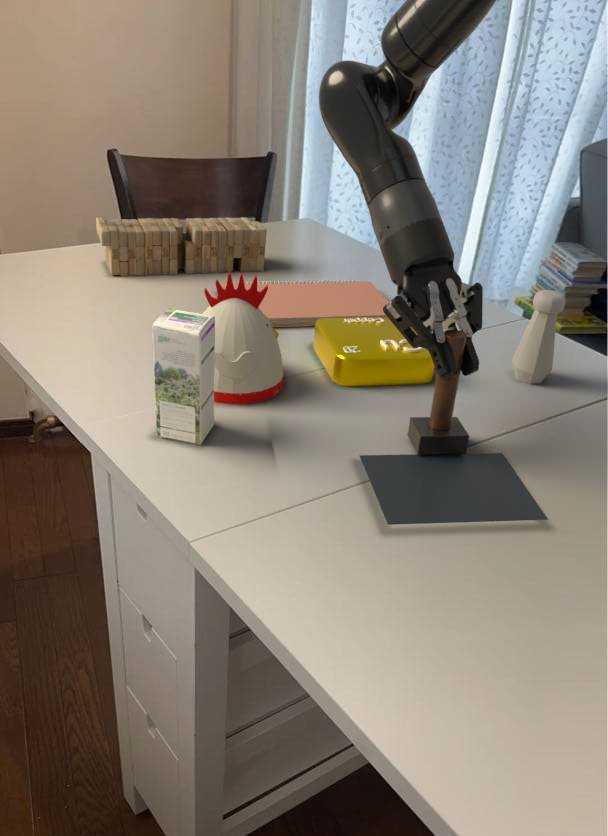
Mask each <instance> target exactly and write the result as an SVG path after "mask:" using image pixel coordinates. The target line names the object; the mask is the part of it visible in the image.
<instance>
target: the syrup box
mask: <svg viewBox="0 0 608 836" xmlns="http://www.w3.org/2000/svg"><path fill="white" fill-rule="evenodd" d="M151 327H152V328H151V334H152V335H151V336H152V356H153V377H154V378H153V380H154V381H153V382H154V406H155V407H154V408H155V431H156V433H155V434H156V438H158V439H162V440H168V441H173V442H174V441H175V442H179V443H185V444H190V445H195V446H201V445H202V444H203V442H204V440H205V438H206V437H207V436H208V434H209V433H210V431H212V428H213V427H214V426H215V402H214V363H215V317H214V316H211V315H205V314H203V313H198V312H192V311H187V310H180V309H173V308H168V309H167V310H166V311H164V312H163V313H162V314H161V315H160V316H159V317H158V318H157V319H156V320H155V321H154V323H153V324H152V325H151Z"/></svg>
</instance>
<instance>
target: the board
mask: <svg viewBox="0 0 608 836" xmlns="http://www.w3.org/2000/svg"><path fill="white" fill-rule="evenodd" d="M359 459H360V461H361V463H362V466H363V468H364V471H365V473H366V476H367V478H368V481H369V483H370V485H371V489H372V490H373V493H374V495H375V497H376V500H377V502H378V505H379V507H380V509H381V512H382V514H383V517H384V519H385V521H386V524H387V525H420V524H450V523H451V524H454V523H455V524H457V523H481V522H483V523H485V522H513V521H514V522H515V521H543V520H548V516H546V514H545V513H544V512H543V510H542V508H541V507H540V506H539V504H538V503H537V501H536V499H535V498H534V496H533V495H532V494H531V492H530V491H529V489H528V488H527V487H526V485H525V484H524V482H523V481H522V479H521V478H520V477H519V475H518V473H517V472H516V471H515V469H514V467H513V466H512V465H511V463H510V462H509V460H508V459H507V458H506V456H505V454H504V453H503V452H484V453H483V452H481V453H479V452H478V453H477V452H475V453H466V454H426V455H418V454H417V453H416V454H362V455H361V454H359Z"/></svg>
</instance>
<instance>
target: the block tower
mask: <svg viewBox="0 0 608 836" xmlns="http://www.w3.org/2000/svg"><path fill="white" fill-rule="evenodd" d="M95 225H96V234H97V236H98V238H99V242H100V244H101V246H102V247H105V263H106V265H107V267H108V270H109V272H110V275H111V276H120V277H128V276H130V277H131V276H152V275H154V276H157V275H169V274H170V275H177V274H178V272H179V271H178V270H182V269H183V271H184V272H185V274H200V273H202V274H209V273H226V272H227V273H229V272H230V273H231V272H232V273H233V271H234V265H235V267H237V269H238V271H239V272H263V271H264V270H265V256H266V255H265V254H266V245H267V233H268V230H267V228H266V227H265V226H264V225H262V223H261V222H260V221H251V220H250V219H249V218H248V217H210V218H209V217H207V218H205V217H203V218H201V217H194V218H190V217H189V218H188V217H187V218H186V219H185V232H184V226H183V223H181V221H180V219H179V218H177V217H176V218H175V217H171V218H168V217H167V218H165V217H164V218H153V217H146V218H137V219H135V218H133V219H132V218H131V219H129V218H127V219H125V218H123V219H122V218H121V219H105V218H104V217H96V218H95Z"/></svg>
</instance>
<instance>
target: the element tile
mask: <svg viewBox="0 0 608 836" xmlns="http://www.w3.org/2000/svg"><path fill="white" fill-rule="evenodd" d="M410 328H411V329H412V330H413V331H414V329H413V328H412V327H410ZM414 332H415V331H414ZM415 334H416V335H418V334H417V333H416V332H415ZM312 345H313V346H312V347H313V350H314V352H315V354H316V356H317V357H318V358H319V361H320V362H321V363H322V366H323V367H324V369H325V370H326V372H327V373H328V375H329V378H331V380H332V382H333V383H335V384H336V385H338V386H343V387H351V388H353V387H372V386H373V387H375V386H377V387H378V386H400V385H402V386H403V385H422V384H423V385H424V384H428V383H431V381H432V380H433V376H434V372H435V366H434V363H433V361H432V358H431V355H430V352H429V351H427V350H426V349H425V348H422V347H418V348H413V347H412V346H411V345H410V344H409V343H408V341H407V340H406V339H405V338H404V336H403V335H402V334H401V333H400V332H399V330H398V329H397V328H396V327H395V325H394V324H393V323H392V322H391V321H390V319H389V318H388V317H370V318H366V317H364V318H359V317H358V318H321V319H318V320H317V321H316V323H315V326H314V332H313V344H312Z"/></svg>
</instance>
